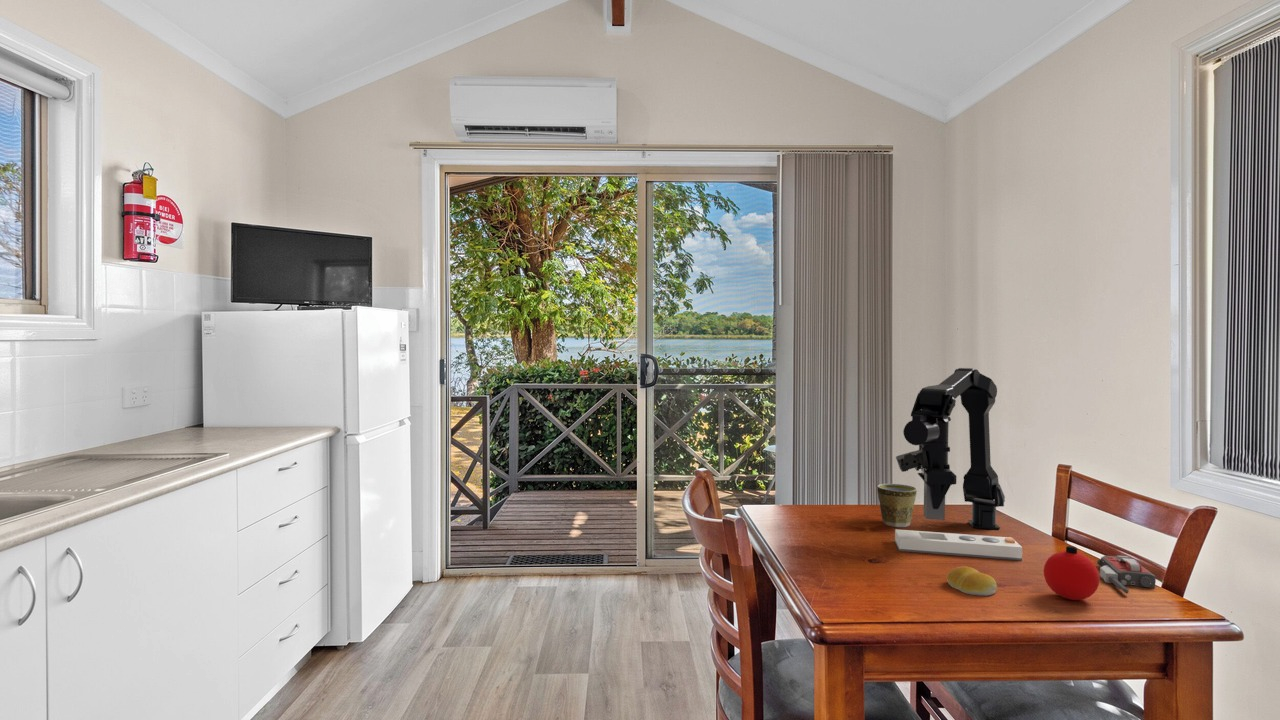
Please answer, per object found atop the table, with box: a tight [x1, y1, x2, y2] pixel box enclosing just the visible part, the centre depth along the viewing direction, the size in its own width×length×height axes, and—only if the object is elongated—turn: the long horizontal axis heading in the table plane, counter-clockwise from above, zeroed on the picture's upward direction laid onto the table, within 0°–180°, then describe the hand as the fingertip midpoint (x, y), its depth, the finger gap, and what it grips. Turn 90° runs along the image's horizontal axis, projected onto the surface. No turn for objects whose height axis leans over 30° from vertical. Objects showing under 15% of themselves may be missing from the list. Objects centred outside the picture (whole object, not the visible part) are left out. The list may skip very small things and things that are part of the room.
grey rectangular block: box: [923, 481, 946, 521], centre depth 159 cm, size 4×4×8 cm
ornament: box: [1043, 545, 1101, 601], centre depth 128 cm, size 9×9×10 cm
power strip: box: [894, 528, 1023, 561], centre depth 158 cm, size 8×26×4 cm, turn 76°
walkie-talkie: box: [1097, 555, 1157, 594], centre depth 138 cm, size 9×4×20 cm
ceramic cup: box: [876, 483, 918, 528], centre depth 183 cm, size 13×10×10 cm
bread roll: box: [946, 565, 998, 597], centre depth 133 cm, size 8×9×4 cm
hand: (933, 506), depth 159 cm, fingers closed on grey rectangular block, 4 cm apart
